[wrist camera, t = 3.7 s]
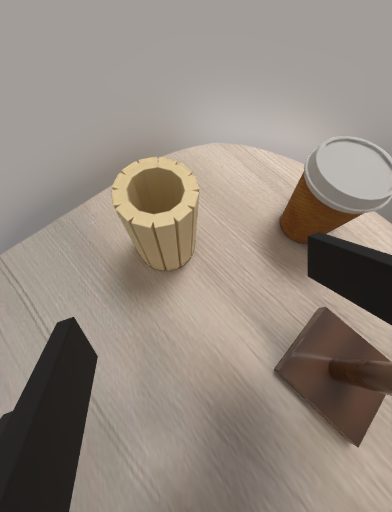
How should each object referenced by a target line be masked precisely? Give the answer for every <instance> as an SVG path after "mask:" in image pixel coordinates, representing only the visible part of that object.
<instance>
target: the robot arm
mask: <svg viewBox="0 0 392 512" xmlns="http://www.w3.org/2000/svg"><path fill="white" fill-rule="evenodd" d="M308 277H310V278H312V279H313V280H315V281H317V282H319V283H320V284H322V285H324V286H325V287H327V288H329V289H331V290H332V291H334V292H336V293H337V294H339V295H341V296H342V297H344V298H346V299H348V300H349V301H351V302H353V303H354V304H356V305H358V306H360V307H361V308H363V309H365V310H366V311H368V312H370V313H371V314H373V315H375V316H377V317H378V318H380V319H382V320H383V321H385V322H387V323H389V324H390V325H392V255H390V254H387V253H383V252H380V251H377V250H374V249H371V248H368V247H364V246H361V245H358V244H355V243H352V242H349V241H345V240H342V239H339V238H336V237H333V236H330V235H327V234H323V233H320V232H318V233H315V234H312V235H309V236H308ZM97 358H98V356H97V354H96V353H95V351H94V349H93V348H92V346H91V344H90V343H89V341H88V339H87V338H86V336H85V334H84V333H83V331H82V329H81V328H80V326H79V324H78V323H77V321H76V319H75V318H74V317H72V318H69V319H66V320H63V321H60V322H57V324H56V326H55V328H54V330H53V332H52V334H51V336H50V338H49V340H48V342H47V344H46V346H45V348H44V350H43V352H42V354H41V356H40V358H39V360H38V362H37V364H36V366H35V368H34V370H33V372H32V374H31V376H30V378H29V380H28V382H27V384H26V386H25V388H24V390H23V392H22V394H21V396H20V398H19V400H18V402H17V404H16V406H15V408H14V410H13V411H12V412H9V413H7V414H4V415H3V416H2V417H1V419H0V512H69V509H70V503H71V498H72V493H73V487H74V482H75V476H76V471H77V466H78V460H79V455H80V449H81V444H82V439H83V433H84V428H85V422H86V417H87V412H88V406H89V401H90V395H91V390H92V385H93V379H94V374H95V368H96V363H97Z"/></svg>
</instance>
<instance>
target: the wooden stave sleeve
mask: <svg viewBox="0 0 392 512" xmlns="http://www.w3.org/2000/svg"><path fill="white" fill-rule="evenodd" d="M139 163H140V165H139V164H138V163H137V162H134V163H132V164H131V165H129V166H128V167H126V168H125V169H123V170H122V173H123V174H121V173H119V174H118V176H117V178H116V180H115V182H114V184H113V186H112V189H113V190H112V191H111V193H112V199H113V206H114V208H115V210H116V212H117V213H118V215H119V217H120V219H121V221H122V223H123V225H124V226H125V228H126V230H127V232H128V234H129V236H130V237H131V239H132V241H133V243H134V245H135V247H136V248H137V250H138V252H139V254H140V256H141V258H142V259H143V260H144V261H145V262H146V263H147V264H148V265H149V266H152V268H155V269H159V270H163V271H165V268H166V270H167V271H169V270H173V269H177V268H179V265H180V266H183V265H184V264H185V263H186V262H187V261H188V260H189V259H190V258H191V256H192V254H193V251H194V247H195V239H196V227H197V215H198V203H199V186H198V183H197V181H196V178H195V175H192V171H190V170H189V169H188V168H187V167H185V166H184V165H183V164H182V163H178V164H177V161H176V160H172V159H168V158H163V157H160V158H159V160H157V157H152V158H146V159H140V160H139Z"/></svg>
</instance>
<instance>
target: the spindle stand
mask: <svg viewBox="0 0 392 512" xmlns="http://www.w3.org/2000/svg"><path fill="white" fill-rule="evenodd" d="M275 370H276V371H277V372H278V373H279V374H280V375H281V376H282V377H283V378H284V379H285V380H286V381H287V382H288V383H289V384H290V385H291V386H292V387H293V388H294V389H295V390H296V391H298V392H299V393H300V394H301V395H302V396H303V397H304V398H305V399H306V400H307V401H308V402H309V403H310V404H311V405H312V406H313V407H314V408H315V409H316V410H317V411H318V412H319V413H320V414H321V415H322V416H323V417H324V418H325V419H326V420H327V421H328V422H329V423H330V424H331V425H332V426H333V427H334V428H335V429H336V430H337V431H338V432H339V433H340V434H341V435H342V436H343V437H344V438H345V439H346V440H347V441H349V442H350V443H352V444H353V445H355V446H357V447H359V445H360V443H361V442H362V440H363V438H364V436H365V434H366V432H367V430H368V428H369V426H370V424H371V422H372V420H373V418H374V417H375V415H376V413H377V411H378V409H379V407H380V405H381V403H382V401H383V399H384V397H385V395H386V394H387V395H391V396H392V362H391V361H390V360H389V359H387V358H386V357H385V356H384V355H383V354H381V353H380V352H379V351H378V350H377V349H375V348H374V347H373V346H372V345H371V344H369V343H368V342H367V341H366V340H365V339H363V338H362V337H361V336H360V335H359V334H358V333H356V332H355V331H354V330H353V329H352V328H350V327H349V326H348V325H347V324H346V323H344V322H343V321H342V320H341V319H340V318H338V317H337V316H336V315H335V314H334V313H332V312H331V311H330V310H329V309H328V308H326V307H322V308H319V309H318V310H317V311H316V313H315V314H314V316H313V317H312V318H311V320H310V321H309V322H308V324H307V325H306V326H305V328H304V329H303V331H302V332H301V333H300V335H299V336H298V337H297V339H296V340H295V341H294V343H293V344H292V346H291V347H290V348H289V350H288V351H287V352H286V354H285V355H284V356H283V358H282V359H281V361H280V362H279V363H278V365H277V366H276V367H275Z"/></svg>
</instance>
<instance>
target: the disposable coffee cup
mask: <svg viewBox="0 0 392 512" xmlns="http://www.w3.org/2000/svg"><path fill="white" fill-rule="evenodd" d="M391 198H392V158H391V157H390V155H389V154H388V153H387V152H385V151H384V150H383V149H382V148H380V147H379V146H377V145H375V144H373V143H371V142H369V141H367V140H364V139H361V138H357V137H352V136H340V137H334V138H331V139H328V140H327V141H325V142H324V143H322V144H321V145H320V146H318V147H317V148H315V149H314V150H312V152H310V154H309V155H308V157H307V159H306V162H305V167H304V172H303V174H302V176H301V178H300V180H299V182H298V184H297V186H296V188H295V190H294V192H293V194H292V196H291V198H290V200H289V202H288V204H287V206H286V208H285V210H284V212H283V214H282V216H281V220H280V224H281V228H282V230H283V231H284V233H285V234H286V235H287V236H288V237H289V238H291V239H292V240H294V241H297V242H301V243H308V236H309V235H312V234H315V233H318V232H320V233H323V234H327V233H329V232H330V231H332V230H334V229H336V228H338V227H340V226H341V225H343V224H345V223H347V222H349V221H351V220H352V219H354V218H356V217H358V216H360V215H362V214H363V213H367V212H371V211H375V210H378V209H380V208H381V207H383V206H384V205H386V204H387V203H388V202H389V201H390V199H391Z"/></svg>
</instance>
